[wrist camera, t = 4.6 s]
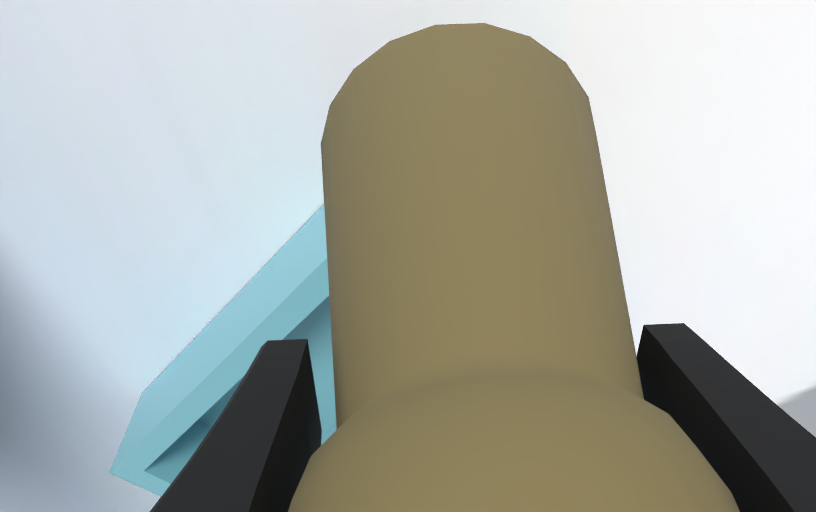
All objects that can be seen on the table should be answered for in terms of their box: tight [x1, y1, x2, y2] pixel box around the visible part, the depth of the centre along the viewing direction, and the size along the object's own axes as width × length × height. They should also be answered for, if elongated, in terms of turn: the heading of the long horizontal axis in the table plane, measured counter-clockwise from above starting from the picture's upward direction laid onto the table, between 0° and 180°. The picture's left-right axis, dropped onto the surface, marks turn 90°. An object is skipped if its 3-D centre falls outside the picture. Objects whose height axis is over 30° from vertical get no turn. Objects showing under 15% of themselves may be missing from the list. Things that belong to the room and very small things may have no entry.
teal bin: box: [109, 204, 337, 496], centre depth 23 cm, size 12×12×4 cm
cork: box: [288, 23, 740, 512], centre depth 10 cm, size 6×6×11 cm
